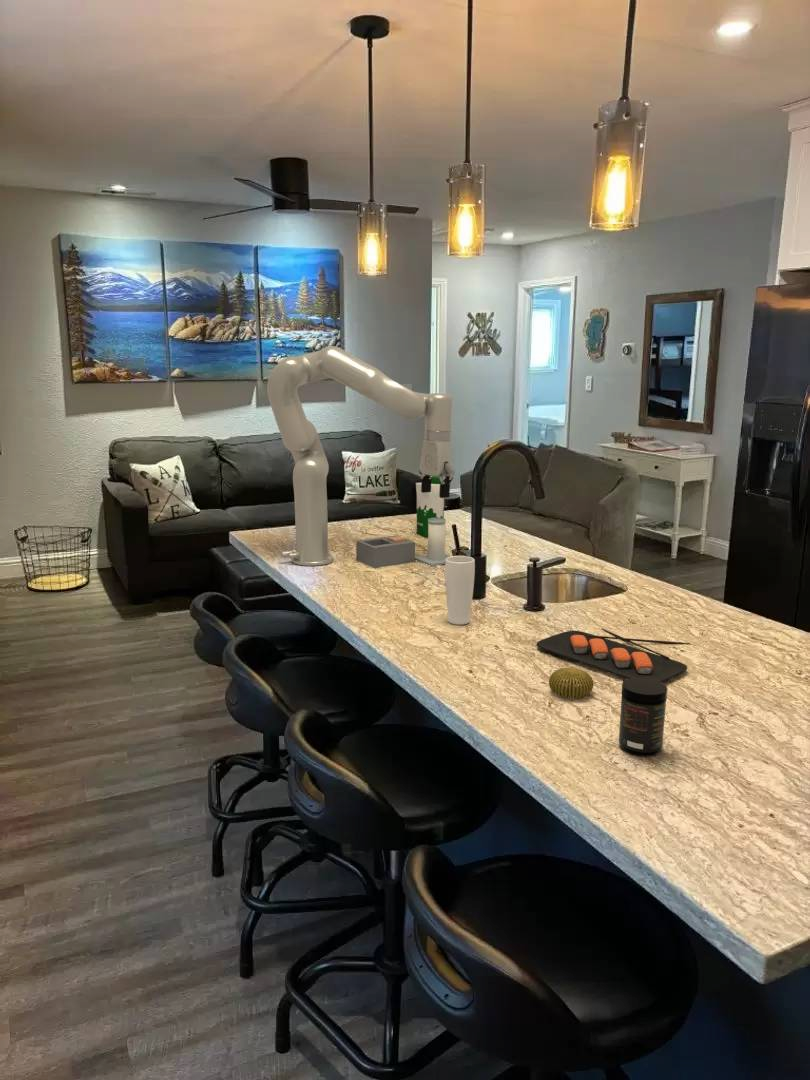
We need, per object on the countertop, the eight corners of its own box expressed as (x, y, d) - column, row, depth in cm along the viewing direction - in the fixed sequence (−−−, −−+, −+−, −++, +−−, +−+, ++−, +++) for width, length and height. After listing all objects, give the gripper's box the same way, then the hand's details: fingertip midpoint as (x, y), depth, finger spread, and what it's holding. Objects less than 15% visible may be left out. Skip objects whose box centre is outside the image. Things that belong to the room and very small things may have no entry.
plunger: (394, 556, 241) (394, 540, 239) (388, 553, 244) (387, 537, 243) (406, 554, 243) (406, 538, 242) (399, 551, 246) (399, 536, 245)
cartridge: (433, 561, 238) (434, 521, 235) (424, 557, 242) (424, 518, 239) (448, 559, 240) (449, 519, 238) (438, 555, 245) (439, 516, 242)
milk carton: (447, 536, 274) (448, 478, 270) (423, 538, 271) (424, 480, 266) (435, 531, 282) (436, 475, 278) (412, 533, 279) (412, 476, 274)
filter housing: (374, 567, 233) (374, 547, 232) (356, 559, 243) (356, 540, 241) (415, 561, 241) (415, 542, 239) (396, 554, 250) (396, 535, 248)
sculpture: (540, 672, 146) (565, 661, 152) (539, 693, 147) (564, 681, 153) (578, 685, 141) (602, 672, 146) (577, 706, 142) (601, 693, 147)
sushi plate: (530, 651, 169) (530, 634, 168) (614, 622, 188) (615, 606, 188) (651, 695, 148) (653, 675, 147) (732, 656, 167) (734, 639, 166)
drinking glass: (471, 627, 182) (473, 563, 179) (442, 625, 184) (443, 562, 180) (475, 618, 189) (476, 556, 185) (446, 616, 190) (447, 554, 187)
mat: (431, 566, 235) (431, 564, 235) (413, 559, 243) (413, 557, 243) (459, 562, 240) (459, 559, 240) (440, 555, 248) (440, 552, 248)
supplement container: (665, 742, 128) (670, 681, 126) (659, 761, 122) (664, 698, 120) (622, 734, 131) (626, 674, 129) (614, 752, 125) (618, 690, 123)
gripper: (410, 434, 238) (408, 491, 242) (443, 440, 224) (440, 500, 228) (431, 433, 242) (429, 489, 246) (465, 439, 228) (462, 498, 232)
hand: (435, 494), depth 237 cm, fingers open, 9 cm apart
